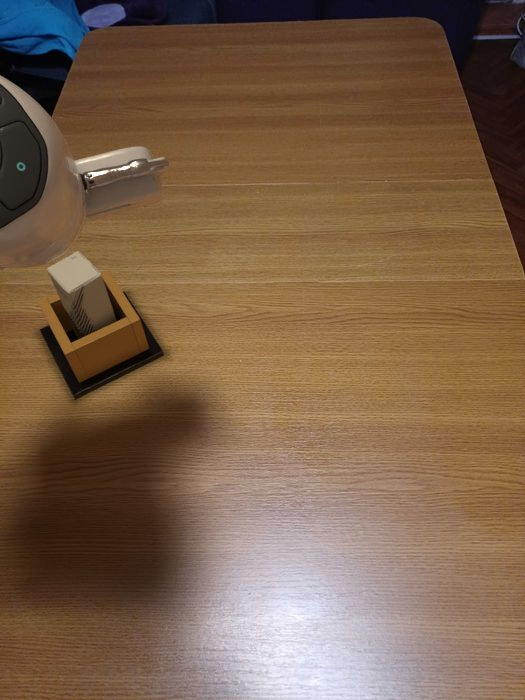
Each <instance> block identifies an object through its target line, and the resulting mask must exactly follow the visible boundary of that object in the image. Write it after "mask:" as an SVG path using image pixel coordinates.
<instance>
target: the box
mask: <svg viewBox="0 0 525 700" xmlns="http://www.w3.org/2000/svg"><path fill="white" fill-rule="evenodd" d="M46 270H47V272H48V275H49V277H50V279H51V282H52V284H53V286H54V288H55V291H56V293H58V295H59V298H60V300H61V302H62V305H63V307H64V309H65V311H66V314H67V316H68V318H69V321H70V323H71V325H72V327H73V330H74V332H75V334H76V336H77V337H78V339H80V338H83V337H85V336H87V335H89V334H91V333H93V332H95V331H98V330H100V329H102V328H104V327H106V326H108V325H110V324H113V323H115V322H117V320H116V317H115V314H114V311H113V308H112V305H111V302H110V299H109V296H108V293H107V290H106V287H105V284H104V281H103V278H102V276H101V273H102V272H101V271H99V270H98V268H96V266H95V265H94V264H93V263H92V262H91V261H90V260H89V259H88V257H86V256H85V255H84V254H83V253H82V252H81V251H80V250H77V251H75V252H73V253H71V254H69V255H67V256H66V257H63V258H62V259H61V260H59V261H57V262H55V263H53V264H52V265H50V266H49V267H47V268H46Z"/></svg>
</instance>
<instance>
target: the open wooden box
mask: <svg viewBox="0 0 525 700" xmlns="http://www.w3.org/2000/svg"><path fill="white" fill-rule="evenodd" d="M100 273H101V276H102V278H103V281H104V284H105V287H106V290H107V293H108V296H109V299H110V302H111V305H112V308H113V311H114V314H115V317H116V320H117V322H115V323H113V324H110V325H108V326H106V327H104V328H102V329H100V330H98V331H95V332H93V333H91V334H89V335H87V336H85V337H83V338H80V339H78V337H77V336H76V334H75V332H74V330H73V327H72V325H71V323H70V321H69V318H68V316H67V314H66V311H65V309H64V307H63V305H62V302H61V300H60V298H59V295H58V293H57V292H56V293H53V294H50V295H49V296H47V297H44V298H42V299H39V300H37V301H36V302H37V304H38V307H39V308H40V311H41V312H42V314H43V316H44V318H45V319H46V322H47V324H48V325H46V326H44V327H42V328H40V329H39V331H40V334H41V335H42V338H43V339H44V341H45V343H46V346H47V347H48V349H49V351H50V354H51V355H52V357H53V359H54V361H55V363H56V365H57V367H58V368H59V371H60V373H61V374H62V377H63V378H64V381H65V383H66V385H67V386H68V389H69V390H70V393H71V394H72V396H73V398H74V399H75V400H76V399H78V398H80V397H82V396H84V395H86V394H88V393H90V392H92V391H94V390H96V389H98V388H101V387H102V386H105V385H106V384H108V383H110V382H113V381H115V380H116V379H118V378H121V377H122V376H124V375H127V374H129V373H131V372H133V371H135V370H137V369H138V368H139V369H140V368H141V367H143V366H145V365H147V364H149V363H151V362H153V361H155V360H157V359H159V358H162V357H163V356H164V355H165V352H164V350H163V348H162V347H161V346H160V344H159V343H158V340H157V339H156V338H155V336H154V335H153V333H152V331H151V330H150V328H149V327H148V326H147V324H146V322H145V321H144V319H143V318H142V316H141V315H140V313H139V312H138V310H137V309H136V307H135V305H134V304H133V302H132V301H131V299H130V297H129V296H128V294H127V293H126V292H125V291H123V290H122V288H121V287H120V286H119V284H118V282H117V281H116V279H115V278H114V277H113V275H112V273H111V272H110V270H106V271H104V272H100Z"/></svg>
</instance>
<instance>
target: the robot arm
mask: <svg viewBox="0 0 525 700" xmlns="http://www.w3.org/2000/svg"><path fill="white" fill-rule="evenodd" d="M169 165H170V162H169V161H168V160H167V158H166V157H164V156H161V157H157V158H154V154H153V153H152V151H150V149H149V148H147V147H146V146H139V145H138V146H137V145H136V146H129V147H124V148H120V149H115V150H112V151H108V152H103V153H100V154H96V155H92V156H87V157H83V158H79V159H74V156H73V154H72V151H71V149H70V146H69V145H68V142H67V140H66V138H65V136H64V135H63V133H62V131H61V129H60V128H59V126H58V124H57V123H56V122H55V120H54V119H53V118H52V117H51V115H50V114H49V113H48V112H47V111H46V110H45V108H44V107H43V106H42V105H41V104H40V103H38V101H36V100H35V99H34V98H33V97H32V96H31V95H30V94H29V93H27V92H26V91H25V90H24V89H22V88H21V87H20V86H18V85H17V84H15V83H13V82H12V81H11V80H9V79H8V78H6V77H4V76H2V75H0V271H3V270H5V269H6V268H10V269H28V268H29V269H30V268H36V267H40V266H44V265H46V264H50V262H51V263H52V262H53V261H55V260H57V259H59V258H60V257H61V256H63V255H65V254H66V253H67V252H68V251H69V250H70V248H72V247H73V245H74V244H75V243H76V241H77V240H78V238H79V237H80V235H81V233H82V231H83V228H84V226H85V224H86V223H90V222H93V221H96V220H100V219H103V218H108V217H111V216H115V215H120V214H122V213H127V212H130V211H134V210H138V209H141V208H144V207H148V206H152V205H154V204H157V203H159V202H162V201H163V200H164V199H165V190H164V187H163V184H162V180H161V177H162V176H163V175H165V174H167V173H168V172H169V170H170V168H169Z"/></svg>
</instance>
